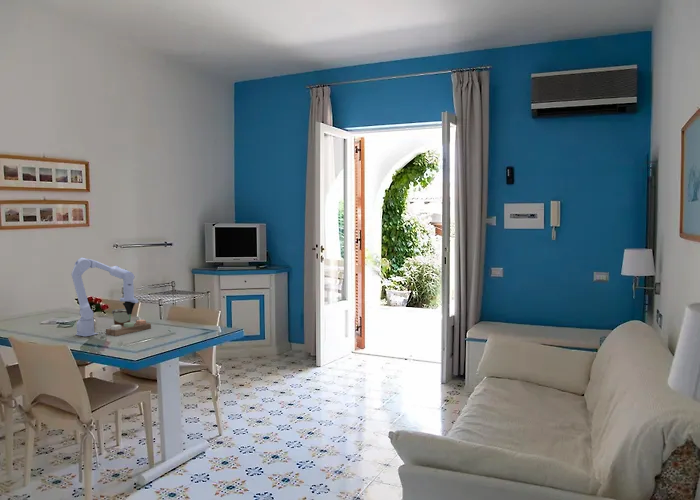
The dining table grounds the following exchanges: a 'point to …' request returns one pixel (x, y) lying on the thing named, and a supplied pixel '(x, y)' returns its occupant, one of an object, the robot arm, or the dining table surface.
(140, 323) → the terracotta button
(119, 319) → the food container
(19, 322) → the dining table surface
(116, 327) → the cream button
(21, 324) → the dining table surface
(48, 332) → the dining table surface
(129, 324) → the sage button
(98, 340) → the dining table surface
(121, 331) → the button panel
